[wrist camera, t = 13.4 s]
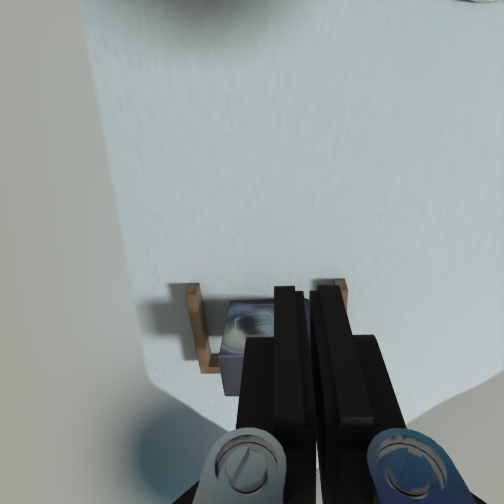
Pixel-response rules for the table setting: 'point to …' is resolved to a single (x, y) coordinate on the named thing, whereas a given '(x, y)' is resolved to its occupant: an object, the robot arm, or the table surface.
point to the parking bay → (197, 316)
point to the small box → (235, 332)
